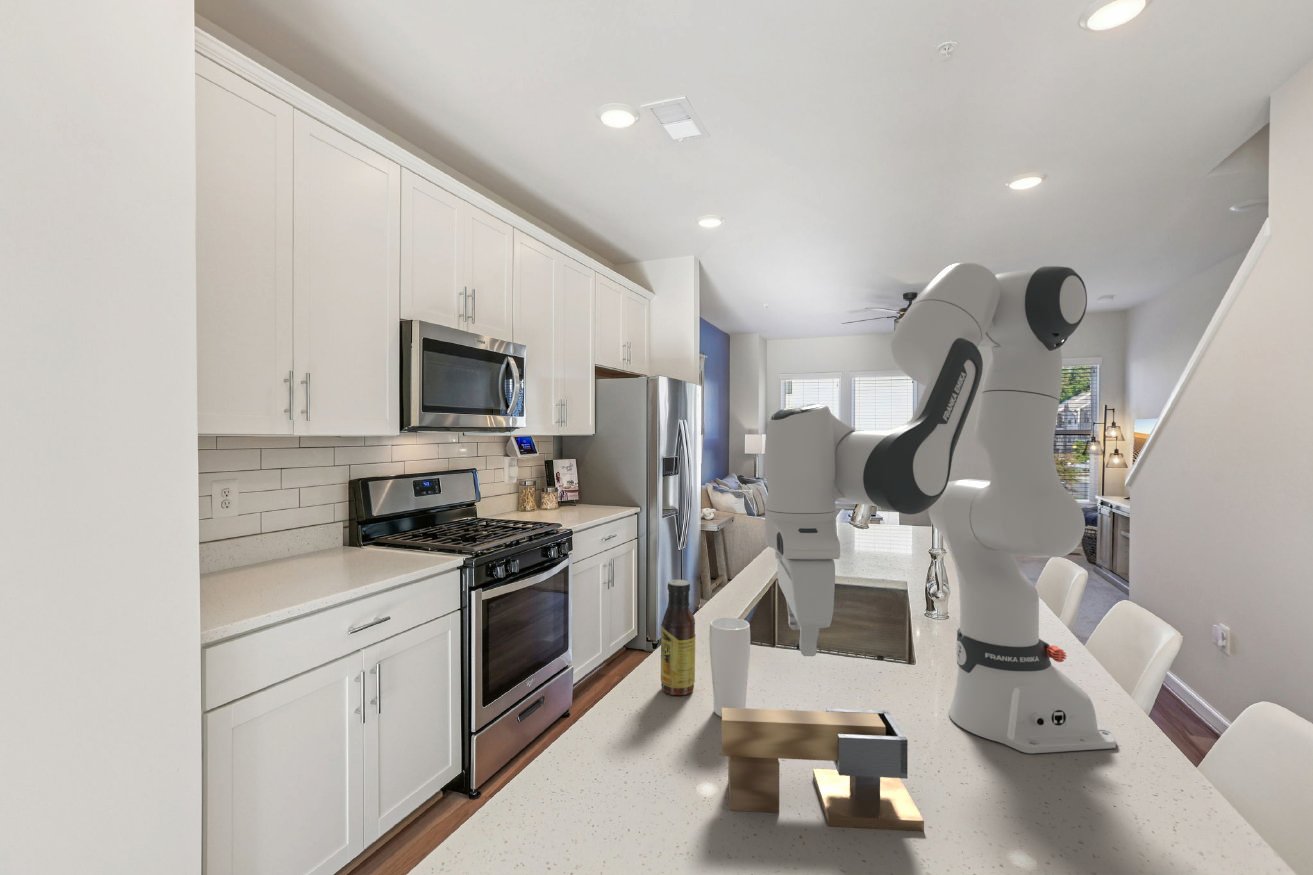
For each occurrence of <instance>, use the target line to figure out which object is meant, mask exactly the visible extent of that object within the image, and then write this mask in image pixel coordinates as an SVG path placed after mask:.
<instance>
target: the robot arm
mask: <svg viewBox="0 0 1313 875" xmlns="http://www.w3.org/2000/svg"><path fill="white" fill-rule="evenodd" d="M1087 305H1088V292H1087V288H1086V285H1085V282H1084V280H1083V279H1082V277H1081V276H1080V275H1079V274H1078V273H1077V272H1076V271H1075V270H1074V269H1073V268H1071V267H1068V266H1067V267H1066V266H1057V265H1055V266H1053V265H1052V266H1051V265H1050V266H1049V265H1048V266H1047V265H1046V266H1041V267H1039V268H1036V269H1023V270H1016V271H1013V270H1012V271H1007V272H1001V273H997V274H995V273H993V272H992V271H991V270H990V269H989V268H987V267H985V266H984V265H982V264H978V263H975V262H967V261H966V262H965V261H963V262H958V263H953V264H951V265H949V266H947V267H946V268H944V269H943V270H942V271H941V272H939V273H938V274H937V275H936V276H935V277H934V278H933V279H931V281H930V282H929V283H928V284H927V285H926V286H925V287H924V288H923V290H921V292H920V293H919V294H918V296H916V298H915V299H914V300H913V302H912V303H911V305H910V306H909V307H908V309H907V310H906V311H905V313H904V314H903V315H902V318H901V319H900V321H899V322H898V324H897V326H896V327H895V330H894V332H893V335H892V338H891V342H890V347H891V352H892V356H893V358H894V361H895V363H896V365H897V366H898V367H899V369H900V370H901V372H903V373H904V374H906V375H907V376H908V377H909V378H910V379H912V380H913V381H915V382H917V383H919V384H921V385H923V386H925V388H924V390H923V392H922V395H921V396H920V399H919V402H918V404H917V407H916V409H915V411H914V413H913V416H912V417H911V419H910V420H909V421H907V422H906V423H905V424H902V425H901V426H897V427H895V428H891V429H887V430H884V429H883V430H879V429H878V430H860V429H857V428H856V427H852V426H850V425H849V424H846V423H844V422H843V421H841V420H839V419H838V418H837V417H836V416H835V415H834V414H833V413H832V412H831V410H830V408H829V406H828V405H824V404H820V403H811V404H804V405H799V406H798V405H795V406H791V407H785V408H783V409H780V410H778V411H776V412H775V413H773V414H772V415H771V416H770V418H769V421H768V424H767V426H766V432H765V433H766V434H765V442H764V478H765V480H766V481H765V482H766V484H767V497H766V500H765V504H764V505H765V506H764V525H765V526H764V527H765V528H764V530H765V531H764V532H765V533H764V534H765V537H764V541H765V545H766V546H767V547H769V548H771V549H774V551H775V554H774V555H775V559H777V582H778V586H779V588H780V590H781V592H782V593H783V596H784V598H785V602H786V608H787V615H788V617H787V618H788V622H787V623H788V626H789V628H790V629H791V630H793V631H797V630H798V631H799V636H798V637H799V639H798V640H799V642H798V643H799V645H798V646H799V647H798V648H799V651H800V654H801V656H804V657H815V656H816V655H817V653H818V652H817V651H818V650H817V647H818V646H817V644H818V643H817V641H818V638H819V634H820V629H826V628H830V625H831V623H832V620H833V614H834V604H835V589H836V588H835V586H836V585H835V584H836V565H835V564H836V563H835V560H839V559H840V558H841V543H840V540H839V536H838V527H837V504H836V501H841V502H848V503H853V504H858V505H865V506H873V507H878V508H881V509H885V510H888V511H893V512H895V513H901V514H904V515H916V514H917V515H918V514H920V513H922V512H925V511H926V510H927V509H928V511H927V512H928V517H929V520H930V521H931V523H932V525H933V526H934V528H935V529H937V531H938V532H939V534H940V535H941V536H942V539H943V540H944V542H945V544H946V546H947V548H948V551H949V554H950V556H951V558H952V559H951V560H952V563H953V565H954V568H955V573H956V576H957V583H958V592H959V593H958V595H959V628H958V629H957V630H956V631H957V632H956V642H955V643H956V644H955V651H956V652H955V654H956V656H955V657H956V663H957V665H958V666H957V676H956V681H955V682H956V684H955V688H954V693H953V697H952V700H951V703H950V706H949V708H948V716H949V717H950V719H951V721H952V722H954V723H955V724H956V725H957V726H959V727H960V728H962V729H963V730H966V731H968V732H969V733H972V734H974V735H976V736H978V737H982V738H984V739H987V740H991V741H994V742H998V743H1001V744H1003V745H1006V746H1008V747H1010V748H1013V749H1015V750H1017V751H1019V752H1022V753H1025V754H1045V753H1058V752H1073V751H1074V752H1075V751H1090V750H1106V749H1115V748H1116V747H1117V744H1116V737H1115V735H1114V734H1113V733H1112V731H1111V730H1110V729H1109V728H1108V727H1107V726H1106V725H1105V724H1104V723H1102V721H1100V720H1098V719H1097V714H1096V710H1095V706H1094V703H1093V701H1092V699H1091V698H1090V696H1089V695H1088V693H1087V692H1086V691H1085V690H1084V689H1083V688H1082V687H1081V686H1080V685H1078V684H1077V683H1076V682H1074V681H1073V680H1072V679H1071V678H1070V677H1069V676H1067V675H1066V674H1064V673H1063V672H1062V671H1061V670H1059V669H1058V668H1057V667H1055V666H1054V665H1053V664H1052V661H1051V660H1050V658H1051V659H1052V660H1054V661H1055V662H1057V663H1063V662H1064V661H1065V660H1067V652H1065V651H1064V650H1063V649H1061V648H1060V647H1058V646H1056V645H1050V644H1049V643H1048V642H1046V641H1044V640H1042V639H1041V638H1040V628H1039V627H1040V596H1039V593H1038V590H1037V588H1036V586H1035V584H1034V583H1033V582H1032V581H1031V580H1030V579H1029V578H1028V577H1027V576H1026V575H1025V573H1023V571H1022V570H1021V568H1020V566H1019V564H1018V562H1017V559H1016V557H1015V555H1018V556H1022V557H1026V558H1041V559H1042V558H1062V557H1066V556H1067V555H1069V554H1071V553H1072V552H1073V551H1075V550H1076V548H1077V547H1078V546H1079V545H1080V543H1081V541H1082V539H1083V537H1084V535H1085V531H1086V530H1085V528H1086V521H1085V520H1086V519H1085V515H1084V511H1083V509H1082V508H1081V505H1080V504H1079V502H1078V501H1077V500H1076V499H1075V498H1074V497H1073V496H1072V494H1070V493H1069V492H1068V490H1067V489H1066V488H1065V486H1064V485H1063V483H1062V480H1061V478H1060V476H1059V472H1058V469H1057V465H1056V462H1055V453H1054V445H1055V444H1054V442H1055V435H1056V425H1057V419H1058V413H1059V405H1060V402H1061V401H1060V399H1061V392H1062V383H1063V382H1062V380H1063V379H1062V378H1063V360H1062V359H1063V358H1062V357H1063V356H1062V349H1061V347H1062V346H1063V345H1064V344H1065V343H1066V342H1067V340H1068V339H1069V337H1070V336H1071V335H1072V334H1073V333H1074V332H1075V331H1076V330H1077V328H1078V327H1079V326H1080V324H1081V322H1082V321H1083V319H1084V317H1085V314H1086V311H1087ZM979 347H991V353H992V354H991V356H990V359H989V362H988V363H987V367H986V371H985V373H984V374H985V375H984V379H983V382H982V387H981V392H980V396H979V402H978V407H977V408H978V409H977V414H976V420H975V425H974V430H973V441H974V443H975V444H976V446H977V447H978V449H979V450H980V451H981V452H982V453H984V454H985V455H986V457H987V460H988V463H989V468H990V480H988V479H975V478H964V479H957V480H952V481H949V480H950V476H951V470H952V469H951V468H952V462H953V457H954V452H955V450H956V447H957V444H958V442H959V438H960V436H961V434H962V431H963V428H964V426H965V424H966V421H967V419H968V416H969V413H970V411H971V408H972V405H973V402H974V401H975V398H976V395H977V392H978V389H979V386H980V383H981V380H982V376H983V369H984V366H983V365H984V362H983V357H982V354H981V352H980V350H979Z"/></svg>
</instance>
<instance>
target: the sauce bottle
mask: <svg viewBox="0 0 1313 875" xmlns="http://www.w3.org/2000/svg"><path fill="white" fill-rule="evenodd" d="M667 591H668V595H667V596H668V602H667V608H666V610H665V613H664V616H663V619H662V621H661V625H660V626H661V627H660V682H661V690H662V691H663V692H665V693H666V694H668V695H669V696H685V695H689V694H692V692H693V691H694V689H695V688H694V687H695V682H696V679H695V678H696V674H695V673H696V633H695V632H696V619H695V616H694V614H693V612H692V611H691V609H690V591H691V583H690V582H689V581H688V580H686V579H672V580H669V581H668V583H667Z"/></svg>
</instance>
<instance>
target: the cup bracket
mask: <svg viewBox="0 0 1313 875" xmlns="http://www.w3.org/2000/svg"><path fill="white" fill-rule="evenodd" d="M825 709H826V710H825V712H850V713H876V714H878V715H879V717H880V719H881V720H882V722H883V723H884V725H885V727H886V736H874V735H850V734H838V761H833V763H834V766H835V768H836V769H827V768H826V769H824V768H823V769H821V768H812V769H813V770H812V778H813V781H814V784H815V788H816V791H817V793H818V794H817V795H818V797H819V801H820V804H821V807H822V811H823V814H824V817H825V820H826V822H827V826H828V827H842V828H857V829H858V828H859V829H861V828H862V829H876V830H877V829H880V830H894V831H895V830H896V831H897V830H898V831H914V832H915V831H916V832H924V831H925V820H924V818H923V816H922V814H921V813H920V811H919V810H918V808H917V806H916V804H915V803H914V801H913V798H912V797H911V796H910V794H909V792H908V790H907V789H906V787H905V785H904V783H903V781H902V780H901V779H904V780H905V779H908V768H909V767H908V760H909V759H908V747H909V746H908V745H909V744H908V738H907V737H906V735H905V734H904V733H903V731H902V730H901V728H900V726H899V725H898V724H897V721H895V719H894V717H893V716H892V715H891V713H890V712H889V710H878V709H877V710H874V709H851V708H848V709H847V708H845V709H844V708H825Z"/></svg>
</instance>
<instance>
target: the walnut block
mask: <svg viewBox="0 0 1313 875" xmlns="http://www.w3.org/2000/svg"><path fill="white" fill-rule="evenodd" d="M727 759H728V762H727V763H728V766H727V768H728V770H727V776H728V778H727V779H728V780H727V781H728V782H727V783H728V784H727V785H728V796H729V797H728V799H729V811H738V812H739V811H740V812H755V813H756V812H757V813H758V812H759V813H773V814H774V813H776V814H778V813H780V760H779V758H757V757H735V756H727Z"/></svg>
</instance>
